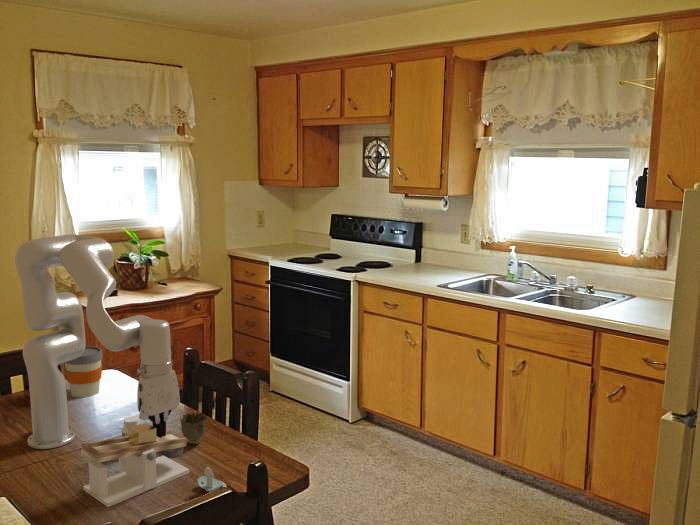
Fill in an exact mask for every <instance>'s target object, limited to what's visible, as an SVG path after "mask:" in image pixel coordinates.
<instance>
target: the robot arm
mask: <svg viewBox="0 0 700 525" xmlns="http://www.w3.org/2000/svg"><path fill="white" fill-rule="evenodd" d="M114 260H115V252H114V248H113V246H112V245H111V244H110V243H109V242H108V241H107V240H105V238H104V239H103V238H101V237H96V236H90V235H89V236H88V235H83V234H82V235H80V234H62V235H56V236H45V237H38V238H34V239H29V240H27V241H25V242H23V243H22V244H20V245H19V246H18V247H17V249H16V253H15V255H14V262H15V268H16V271H17V274H18V277H19V281H20V284H21V293H22V303H23V312H24V313H23V314H24V318H25V323H26V325H27V327H28V329H30V330H31V331H34V332H42V331H43V332H44V331H47V330H51V329H54V328H58V330H55V331H50V332H46V333H43V334H40V335H37V336H34V337H32V338H30V339H29V340H28V341H27V342H26V343H25V344H24V345H23V348H22V357H23V361H24V364H25V367H26V368H25V369H26V372H27V377H28V378H27V379H28V387H29V389H28V390H29V398H30V400H29V401H30V412H31V413H30V415H31V426H32V434H31V435H29V437H28V438H27V440H26V441H27V445H28V446H29V447H30V448H33V449H36V450H37V449H38V450H46V449H47V450H48V449H56V448H58V447H62V446H65V445H68V443H70V442H72V441H73V440H74V439H75V437H76V433H75V431H74V430H73V429H71V428H69V414H68V412H69V410H68V399H67V398H68V397H67V396H68V395H67V385H66V384H67V382H66V377H65V376H64V374H63V373H62V372H61V371H60V369H59V367H58V366H60V365H62V364H65V363H64V362H67V361H70V360H73V359H76V358H78V357H80V356H81V355H82V354H83V353H84V351H85V346H87V345H86V344H87V342H86V340H87V339H86V332H85V331H86V330H85V319H84V310H83V306H82V303H81V300H80V299H79V297H78V296H77V295H76V294H74V293H72V292H68V291H62V292H58V293H57V292H56V282H55V279H54V278H53V276H52V275H51V273H50V271H48V270H47V269H50V268H52V269H53V268H58V267H59V268H60V267H62V266H63V268H64V269H65V270H66V271H67V273H68V274H69V276H70V278H71V279H72V280H73V281H74V282H75V284H76V286H77V287H78V288H79V289H80V290H81V292H82V293H83V295H84V297H85V298H86V306H85V315H86V320H87V323H88V324H87V325H88V327H89V329H90V331H91V332H92V333H93V335H94V337H95V338H96V339H97V340H98V341H99V343H100V344H101V345H102V346H103V347H104V348H105V349H107V350H108V351H111V352H115V353H116V352H121V351H124V350H126V349H129V348H132V347H135V346H139V351H140V352H139V354H140V364H139V365H140V367H138V368H137V369H136V372H137V374H138V375H139V374H140V375H139V376H138V383H137V402H136V403H137V410H138V412H139V416H138V418H139V420H142V421H148V420H149V421H150V422H152V426H153V427H155V428H156V436H157V437H159V438H161V437H162V436H163V437H164V436H166V430H167V421H168V420H169V416H170V414H171V413H172V412H174V411H175V410H176V409H178V407H179V406H180V402H181V398H180V389H179V382H178V378H177V374H176V371H175V370H174V369H173V368H172V347H171V328H170V327H171V326H170V324H169V322H168V321H167V320H164V319H154V318H152V317H150V316H147V315H145V314H137V315H133V316H130V317H126V318H122V319H119V320H115V321H114V320H113V318H112V317H111V316H110V315H109V313H108V312H107V310H106V308H105V304H104V301H105V300H106V299H107V298H108V297H110V295H112V293H113V292H114V291H115V290H116V287H117V281H116V279H115V277H114V275H112V274H111V272H110V271H109V269H108V268H107V267H109V266H110V265H112V264H113V262H114Z"/></svg>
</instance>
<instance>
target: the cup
mask: <svg viewBox="0 0 700 525" xmlns="http://www.w3.org/2000/svg"><path fill="white" fill-rule="evenodd" d="M207 418H208V417H207V414H205V413H202V412H196V413H195V412H192V414H191V413H190V412H187V413H186V414H183V415H182V417H180V418H179V420H180V427H181V431H182V432H181V433H182V434H183V438H184V437H186V438H187V443H188V445H191V446H195V445H199V444H200V443H201V441H202V440H201V439H202V438H203V436H204V435H205V433H206V429H207V428H206V427H207Z"/></svg>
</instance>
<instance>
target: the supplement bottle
mask: <svg viewBox="0 0 700 525" xmlns="http://www.w3.org/2000/svg"><path fill="white" fill-rule="evenodd" d="M139 424H140V418H139V416H128V417H125V418H124V420H123V427H121V437H125V436H128V427H132V426H136V425H139Z"/></svg>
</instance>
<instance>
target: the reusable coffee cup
mask: <svg viewBox="0 0 700 525" xmlns="http://www.w3.org/2000/svg"><path fill="white" fill-rule="evenodd" d="M102 352H103V350H102V348H100V347H99V346H91V345H89V346H88V345H86V346H85V351H84V353H83V354H82V355H81V356H80V357H78V358H76V359H73V360H70V361H67V362H64V363H63V364H65V365H64V366H65V367H64V371H65V378H66V381H67V382H68V386H69V390H70V394H71V396H72V397H74V398H88V397H93V396H95V395H98V394H99V392H100V381H101V380H102V379H101V378H102V374H103V364H102V359H103V358H104V357H103V353H102ZM67 382H66V383H67Z"/></svg>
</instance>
